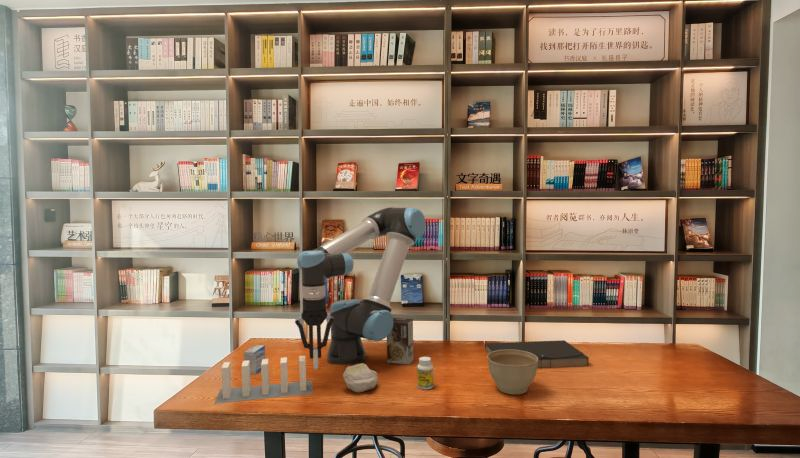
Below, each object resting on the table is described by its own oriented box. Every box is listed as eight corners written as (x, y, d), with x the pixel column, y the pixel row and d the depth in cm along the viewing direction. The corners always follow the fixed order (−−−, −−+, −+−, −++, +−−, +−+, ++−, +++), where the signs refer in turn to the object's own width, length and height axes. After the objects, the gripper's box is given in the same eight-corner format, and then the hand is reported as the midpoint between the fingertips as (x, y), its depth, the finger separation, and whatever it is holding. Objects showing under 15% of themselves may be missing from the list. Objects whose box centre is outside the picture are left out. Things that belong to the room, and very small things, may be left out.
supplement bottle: (435, 384, 160) (434, 356, 159) (431, 390, 155) (431, 362, 154) (419, 382, 162) (419, 355, 161) (415, 388, 157) (415, 360, 156)
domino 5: (306, 384, 161) (305, 355, 160) (306, 390, 155) (305, 360, 155) (300, 385, 160) (299, 356, 159) (300, 391, 155) (299, 361, 154)
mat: (311, 381, 164) (311, 380, 164) (312, 394, 153) (312, 393, 153) (220, 390, 158) (220, 389, 157) (214, 404, 147) (214, 403, 147)
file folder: (501, 360, 172) (484, 341, 196) (501, 371, 172) (484, 350, 196) (589, 357, 174) (562, 338, 198) (589, 368, 175) (562, 348, 199)
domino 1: (231, 391, 155) (230, 361, 155) (229, 398, 150) (228, 367, 150) (225, 392, 155) (224, 362, 154) (222, 398, 150) (221, 368, 149)
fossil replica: (384, 386, 159) (359, 383, 164) (383, 361, 160) (358, 359, 165) (365, 397, 149) (339, 394, 154) (364, 370, 149) (338, 368, 154)
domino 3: (269, 388, 158) (268, 358, 157) (268, 394, 153) (267, 364, 152) (263, 388, 158) (262, 359, 157) (262, 395, 153) (261, 364, 152)
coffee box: (414, 359, 185) (413, 318, 184) (409, 365, 179) (408, 323, 177) (392, 357, 188) (391, 317, 186) (386, 362, 181) (385, 321, 180)
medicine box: (255, 375, 170) (254, 352, 170) (244, 374, 171) (243, 351, 171) (266, 367, 178) (265, 345, 178) (255, 367, 179) (254, 344, 178)
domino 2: (250, 389, 157) (249, 360, 156) (249, 396, 152) (247, 365, 151) (244, 390, 156) (243, 360, 156) (242, 396, 151) (241, 366, 151)
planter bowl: (535, 381, 161) (536, 350, 161) (539, 401, 146) (540, 367, 145) (487, 378, 165) (487, 347, 164) (486, 397, 149) (486, 364, 148)
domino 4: (287, 386, 159) (287, 357, 159) (287, 392, 154) (286, 362, 153) (281, 386, 159) (280, 357, 158) (281, 393, 154) (280, 363, 153)
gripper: (293, 301, 151) (295, 373, 153) (334, 298, 154) (336, 369, 156) (293, 296, 159) (295, 365, 160) (332, 294, 162) (334, 362, 163)
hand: (315, 367), depth 158 cm, fingers closed
